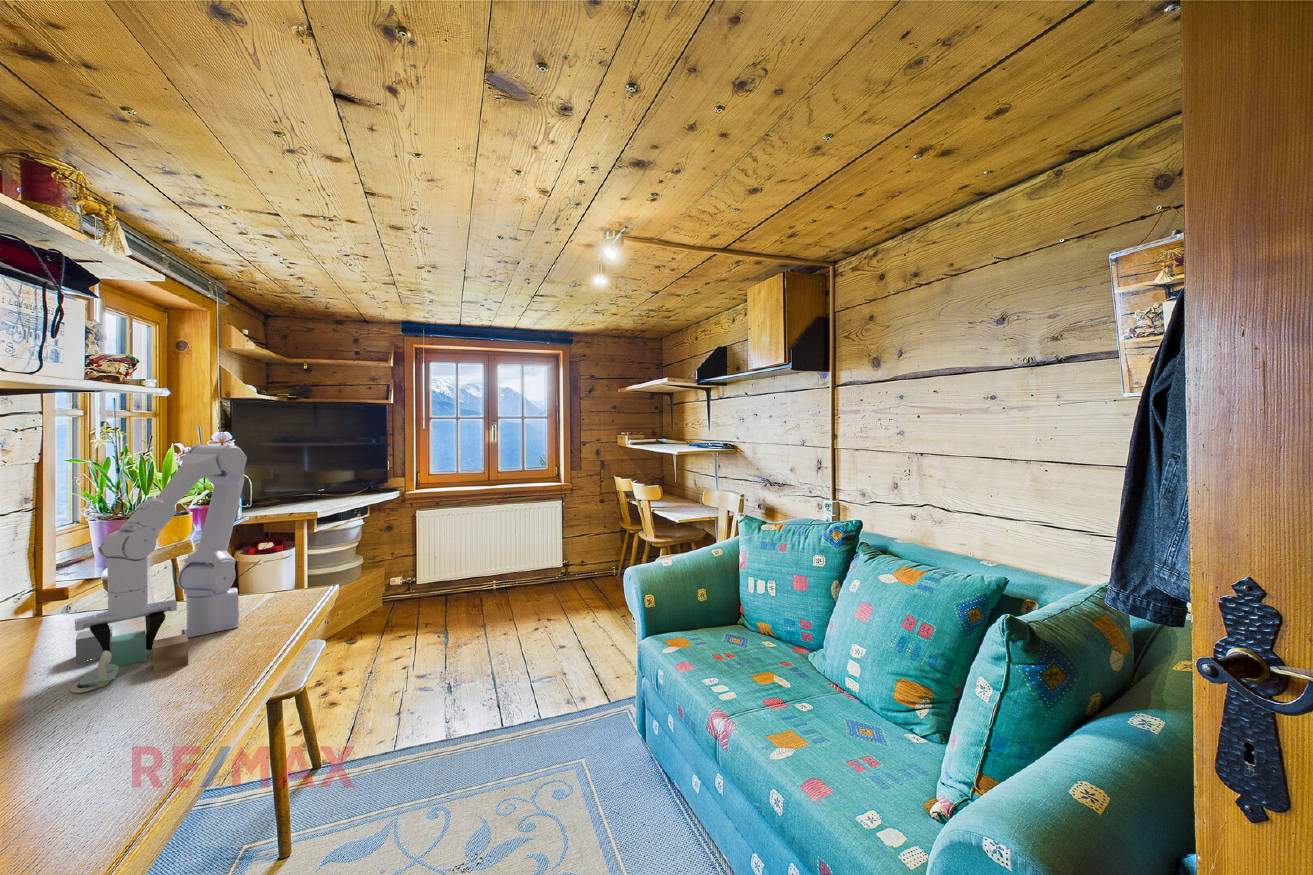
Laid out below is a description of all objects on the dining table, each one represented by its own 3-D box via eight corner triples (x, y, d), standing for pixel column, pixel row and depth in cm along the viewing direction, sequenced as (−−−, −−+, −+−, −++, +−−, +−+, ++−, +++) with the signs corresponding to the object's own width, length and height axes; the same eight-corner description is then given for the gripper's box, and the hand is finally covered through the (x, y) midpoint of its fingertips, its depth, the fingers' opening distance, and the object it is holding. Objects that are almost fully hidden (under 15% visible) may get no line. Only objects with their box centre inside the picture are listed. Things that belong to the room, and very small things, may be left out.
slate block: (112, 648, 111) (112, 626, 111) (111, 656, 108) (111, 632, 107) (77, 655, 108) (77, 632, 107) (76, 664, 104) (75, 639, 104)
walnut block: (186, 657, 108) (186, 633, 108) (188, 665, 104) (188, 641, 104) (153, 664, 104) (153, 640, 104) (154, 673, 101) (153, 648, 101)
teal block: (145, 653, 109) (145, 629, 109) (146, 660, 106) (145, 636, 106) (111, 660, 105) (111, 636, 105) (110, 668, 102) (110, 644, 102)
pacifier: (65, 699, 91) (114, 688, 95) (63, 665, 91) (112, 655, 95) (75, 683, 97) (121, 673, 101) (73, 651, 97) (119, 642, 100)
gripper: (171, 576, 113) (171, 637, 114) (72, 593, 102) (73, 660, 102) (179, 583, 109) (179, 645, 110) (76, 601, 98) (77, 671, 98)
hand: (128, 653), depth 106 cm, fingers closed on teal block, 5 cm apart
